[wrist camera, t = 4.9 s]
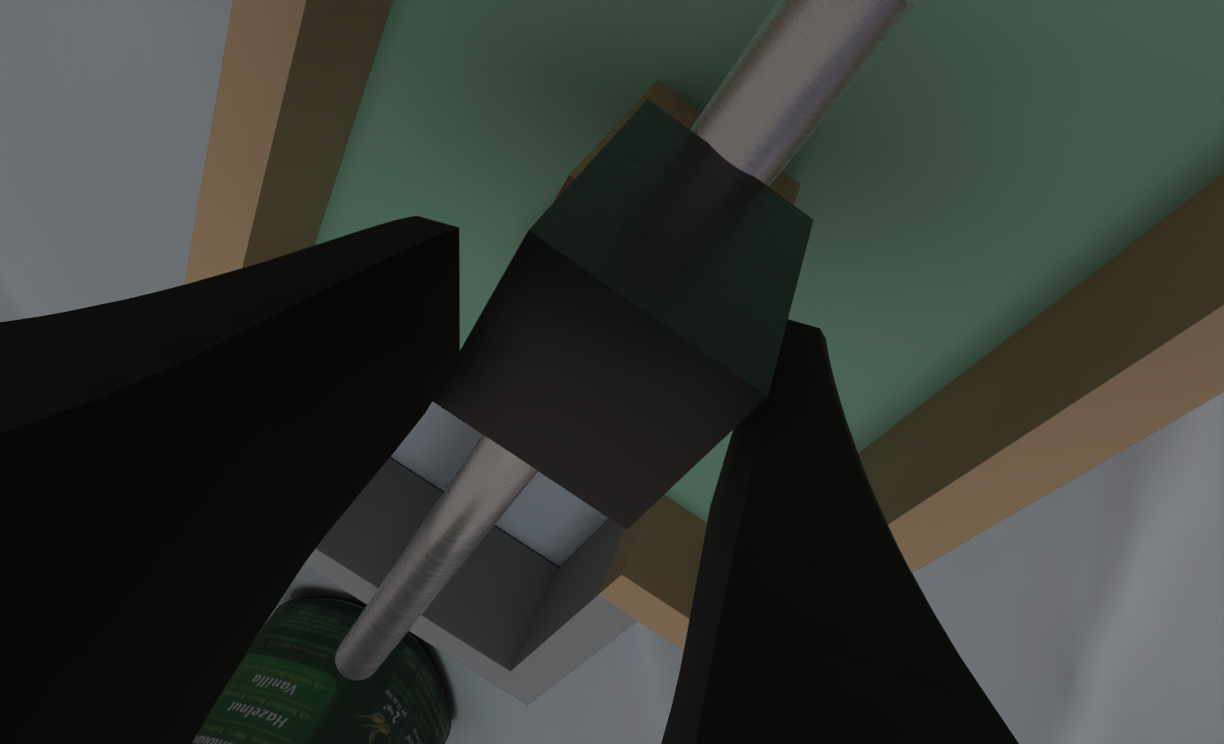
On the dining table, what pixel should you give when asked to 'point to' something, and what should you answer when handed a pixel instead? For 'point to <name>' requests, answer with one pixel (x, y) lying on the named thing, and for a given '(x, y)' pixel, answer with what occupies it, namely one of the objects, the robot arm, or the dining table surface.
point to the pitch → (832, 266)
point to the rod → (638, 303)
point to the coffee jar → (326, 687)
